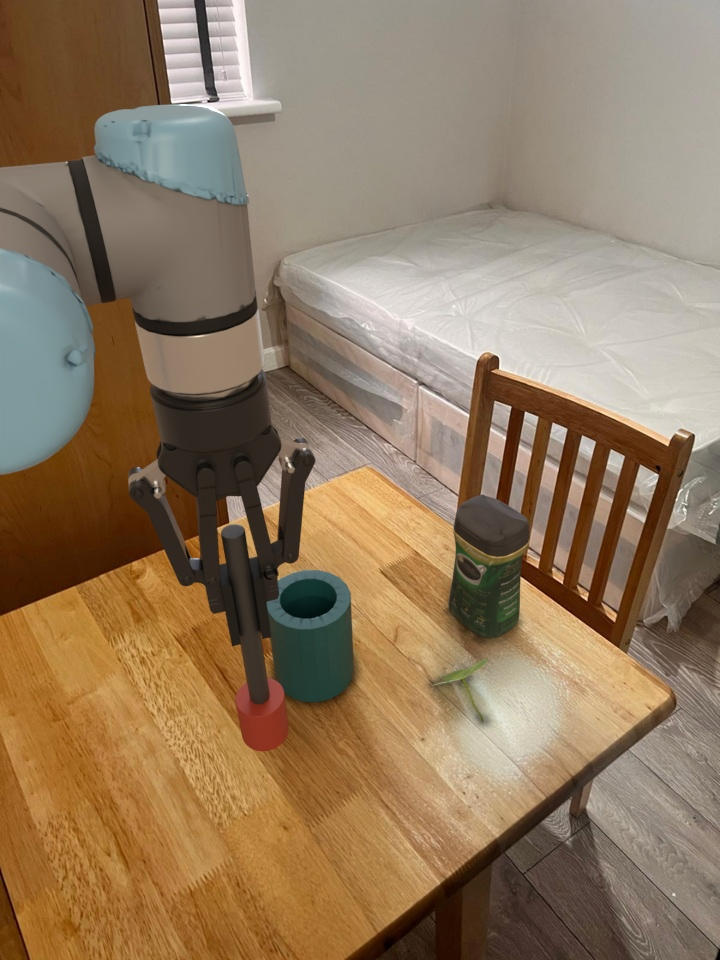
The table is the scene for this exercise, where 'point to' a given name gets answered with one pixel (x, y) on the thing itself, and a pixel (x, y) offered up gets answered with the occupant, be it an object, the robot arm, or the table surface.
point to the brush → (253, 654)
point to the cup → (312, 635)
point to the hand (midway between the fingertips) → (249, 629)
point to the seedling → (464, 673)
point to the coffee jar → (488, 565)
